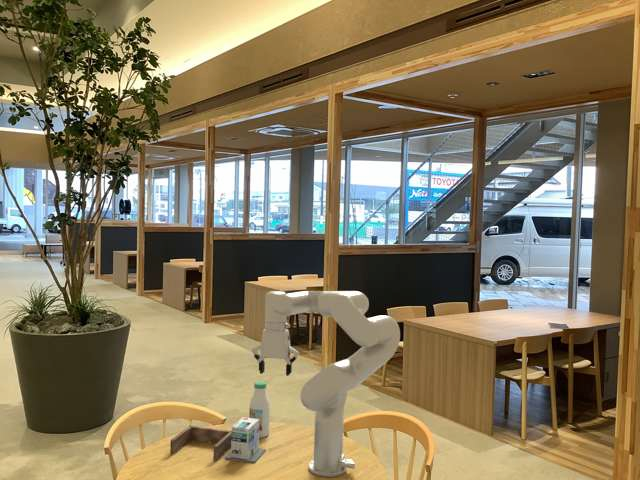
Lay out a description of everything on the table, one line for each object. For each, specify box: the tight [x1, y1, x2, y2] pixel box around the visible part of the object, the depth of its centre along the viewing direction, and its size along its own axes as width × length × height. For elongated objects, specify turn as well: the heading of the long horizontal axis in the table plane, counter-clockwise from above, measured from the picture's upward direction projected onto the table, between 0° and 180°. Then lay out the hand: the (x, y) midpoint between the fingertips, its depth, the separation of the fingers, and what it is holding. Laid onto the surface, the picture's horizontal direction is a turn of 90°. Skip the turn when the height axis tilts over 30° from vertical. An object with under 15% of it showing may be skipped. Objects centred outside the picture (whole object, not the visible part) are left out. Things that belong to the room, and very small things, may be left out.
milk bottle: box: [248, 380, 271, 439], centre depth 223 cm, size 8×8×20 cm
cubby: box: [169, 425, 232, 462], centre depth 208 cm, size 17×15×5 cm
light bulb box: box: [230, 416, 260, 460], centre depth 205 cm, size 11×7×11 cm, turn 165°
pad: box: [224, 447, 266, 464], centre depth 205 cm, size 11×11×1 cm
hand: (275, 373), depth 209 cm, fingers open, 9 cm apart
